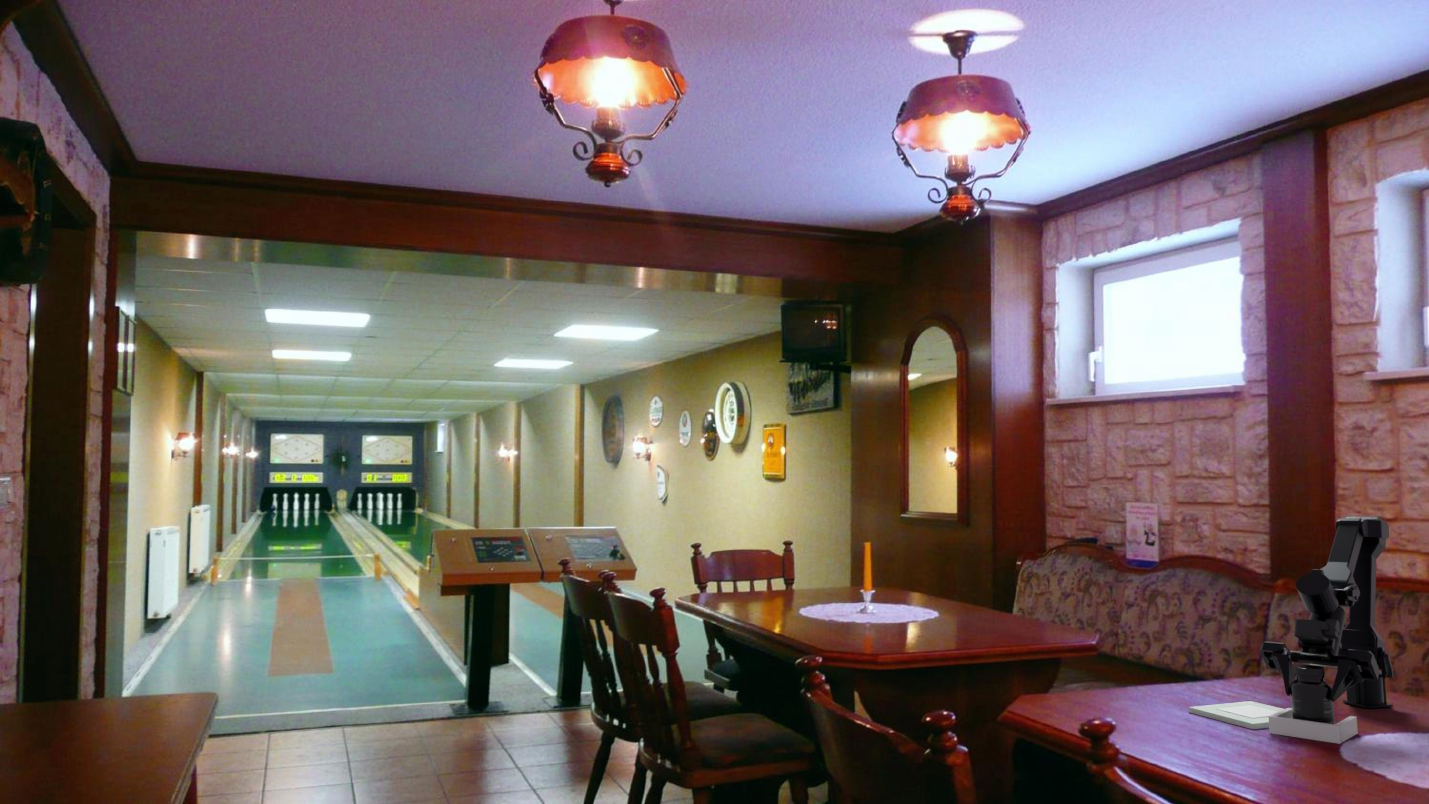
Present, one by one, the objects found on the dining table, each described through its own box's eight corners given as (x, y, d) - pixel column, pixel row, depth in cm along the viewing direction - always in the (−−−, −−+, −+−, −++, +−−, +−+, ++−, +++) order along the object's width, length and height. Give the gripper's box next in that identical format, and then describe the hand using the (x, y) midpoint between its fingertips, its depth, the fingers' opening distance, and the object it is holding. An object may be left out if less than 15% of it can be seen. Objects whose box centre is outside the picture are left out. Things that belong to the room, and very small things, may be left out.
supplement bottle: (1324, 728, 191) (1320, 663, 192) (1343, 737, 184) (1339, 669, 185) (1286, 728, 191) (1282, 663, 192) (1303, 737, 185) (1299, 669, 186)
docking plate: (1250, 705, 211) (1250, 700, 211) (1318, 722, 196) (1317, 716, 196) (1188, 712, 206) (1188, 706, 206) (1253, 729, 191) (1252, 723, 191)
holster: (1289, 723, 195) (1288, 707, 195) (1357, 733, 187) (1356, 716, 187) (1269, 733, 188) (1268, 716, 188) (1339, 743, 179) (1338, 726, 180)
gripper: (1260, 599, 199) (1242, 663, 191) (1370, 606, 186) (1356, 676, 177) (1276, 635, 204) (1260, 700, 195) (1385, 645, 190) (1372, 715, 182)
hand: (1309, 697), depth 187 cm, fingers open, 7 cm apart
